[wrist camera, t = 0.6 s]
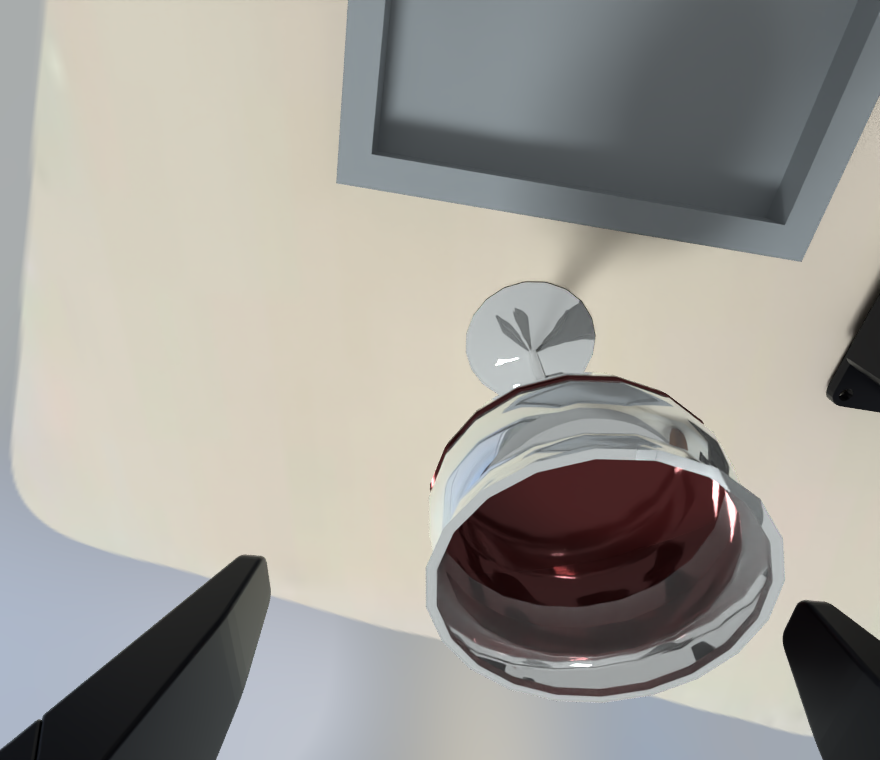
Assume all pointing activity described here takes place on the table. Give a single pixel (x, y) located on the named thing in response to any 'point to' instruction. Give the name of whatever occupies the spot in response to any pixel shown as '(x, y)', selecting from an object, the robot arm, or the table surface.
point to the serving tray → (615, 110)
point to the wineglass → (588, 521)
